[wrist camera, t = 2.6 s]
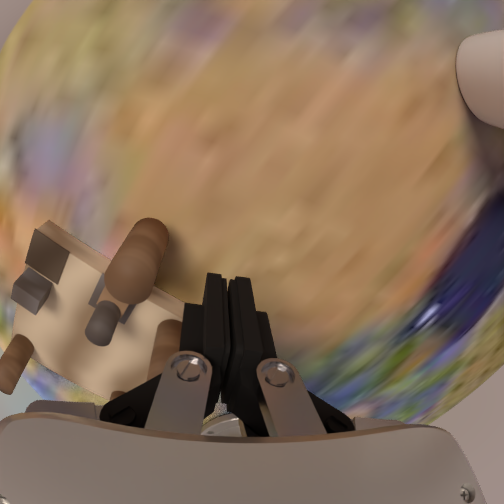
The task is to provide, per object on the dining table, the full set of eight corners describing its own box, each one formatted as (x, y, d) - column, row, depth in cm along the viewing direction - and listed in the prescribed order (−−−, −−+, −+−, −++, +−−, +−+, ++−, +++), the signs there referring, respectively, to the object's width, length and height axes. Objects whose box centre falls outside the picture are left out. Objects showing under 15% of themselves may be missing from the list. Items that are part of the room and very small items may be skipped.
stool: (201, 310, 24) (198, 384, 17) (134, 395, 28) (123, 455, 21) (48, 218, 19) (-8, 266, 12) (18, 331, 23) (-14, 382, 16)
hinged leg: (122, 317, 21) (103, 371, 16) (94, 301, 20) (69, 353, 15) (176, 231, 18) (161, 277, 13) (142, 210, 17) (115, 250, 13)
